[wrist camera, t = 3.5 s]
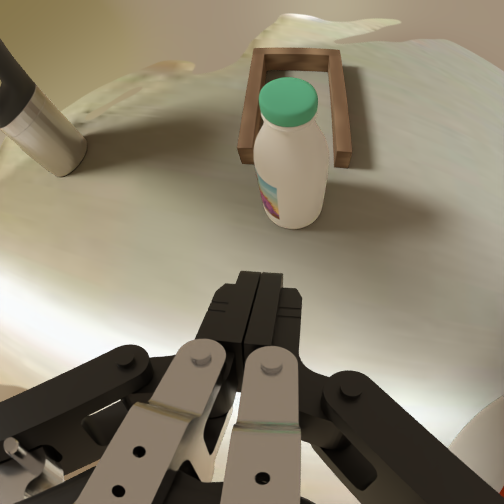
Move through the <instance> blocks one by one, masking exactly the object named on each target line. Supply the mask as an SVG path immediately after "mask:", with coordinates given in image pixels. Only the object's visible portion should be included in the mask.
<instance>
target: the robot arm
mask: <svg viewBox="0 0 504 504" xmlns="http://www.w3.org/2000/svg"><path fill="white" fill-rule="evenodd" d="M0 80H1V82H2V83H1V86H0V130H1V131H2V132H3V133H4V134H6V135H7V136H8V137H9V138H10V139H12V140H13V141H14V142H15V143H16V144H17V145H19V146H20V148H21V149H22V150H23V151H24V152H25V153H27V154H28V155H29V156H30V157H31V158H33V159H34V160H35V161H36V162H37V163H39V164H40V165H41V166H42V167H44V168H45V169H46V170H47V171H49V172H51V173H52V174H54V175H55V176H58V177H61V176H65V175H67V174H69V173H70V172H72V171H73V170H74V169H75V168H76V167H77V166H78V165H79V163H80V162H81V161H82V159H83V157H84V155H85V153H86V150H87V141H86V139H85V138H84V137H83V136H82V135H81V134H80V133H79V132H78V130H77V129H76V128H75V127H74V126H73V125H72V124H71V123H70V122H69V121H68V119H67V118H66V117H65V116H64V115H63V114H62V113H61V112H60V111H59V110H58V109H57V107H56V106H55V105H54V104H53V103H52V102H51V101H50V100H49V98H48V97H47V96H46V95H45V94H44V93H43V92H42V91H41V90H40V88H39V87H38V86H37V85H36V84H35V83H34V82H33V81H32V79H31V78H30V77H29V76H28V75H27V74H26V72H25V71H24V70H23V69H22V67H21V66H20V65H19V64H18V63H17V61H16V60H15V59H14V57H13V56H12V55H11V53H10V52H9V51H8V49H7V48H6V46H5V45H4V43H3V42H2V40H1V39H0ZM301 309H302V297H301V295H300V293H299V292H298V290H297V289H296V288H283V274H282V273H267V272H262V273H261V272H251V271H240V273H239V276H238V279H237V281H236V284H226V283H225V284H224V285H223V286H222V287H220V288H219V289H218V290H217V291H216V292H215V294H214V297H213V299H212V302H211V303H210V306H209V308H208V311H207V312H206V315H205V317H204V319H203V322H202V324H201V326H200V328H199V331H198V333H197V335H196V338H195V340H192V341H189V342H187V343H186V344H184V345H183V346H182V347H181V348H180V349H179V350H178V352H177V354H176V355H172V356H164V357H151V358H149V356H148V353H147V352H146V350H145V349H143V348H142V347H140V346H137V345H123V346H120V347H117V348H115V349H113V350H111V351H109V352H107V353H105V354H103V355H101V356H99V357H97V358H95V359H92V360H90V361H88V362H86V363H84V364H82V365H80V366H78V367H76V368H74V369H72V370H69V371H67V372H65V373H63V374H61V375H59V376H57V377H55V378H52V379H50V380H48V381H46V382H44V383H42V384H40V385H37V386H35V387H33V388H31V389H29V390H27V391H24V392H22V393H20V394H18V395H16V396H13V397H11V398H9V399H7V400H5V401H2V402H0V504H315V503H313V502H312V501H310V500H308V499H306V498H303V497H301V496H300V482H301V440H302V441H305V442H308V443H310V444H311V446H312V448H313V449H314V451H315V452H316V453H317V454H318V455H319V456H320V458H321V459H322V460H323V461H324V462H325V463H326V465H327V466H328V467H329V468H330V469H331V470H332V472H333V473H334V474H335V475H336V476H337V477H338V478H339V480H340V481H341V482H342V483H343V484H344V485H345V486H346V487H347V488H348V490H349V491H350V492H351V493H352V494H353V495H354V496H355V497H356V498H357V499H358V500H359V502H360V503H361V504H504V497H503V496H502V495H500V494H499V493H498V492H497V491H496V490H495V489H493V488H492V487H491V486H490V485H489V484H488V483H487V482H485V481H484V480H483V479H482V478H481V477H480V476H478V475H477V474H476V473H475V472H474V471H473V470H472V469H470V468H469V467H468V466H467V465H466V464H465V463H464V462H463V461H461V460H460V459H459V458H458V457H457V456H456V455H455V454H453V453H452V452H451V451H450V450H449V449H448V448H447V447H446V446H444V445H443V444H442V443H441V442H440V441H439V440H438V439H437V438H435V437H434V436H433V435H432V434H431V433H430V432H429V431H428V430H426V429H425V428H424V427H423V426H422V425H421V424H420V423H419V422H418V421H416V420H415V419H414V418H413V417H412V416H411V415H410V414H409V413H408V412H406V411H405V410H404V409H403V408H402V407H401V406H400V405H399V404H398V403H396V402H395V401H394V400H393V399H392V398H391V397H390V396H389V395H388V394H387V393H385V392H384V391H383V390H382V389H381V388H380V387H379V386H378V385H377V384H376V383H374V382H373V381H372V380H371V379H370V378H369V377H368V376H366V375H364V374H362V373H360V372H356V371H341V372H337V373H335V374H333V375H332V376H330V377H327V376H324V375H321V374H318V373H315V372H313V371H311V370H310V369H308V368H307V367H306V366H305V365H304V364H303V363H302V361H301V360H300V357H299V339H300V325H301ZM236 392H241V397H240V404H239V411H238V418H237V422H236V424H234V426H233V429H232V433H231V439H230V446H229V452H228V458H227V464H226V471H225V477H224V482H211V481H212V478H213V474H214V464H215V459H216V456H217V453H218V450H219V448H220V445H221V442H222V440H223V437H224V434H225V431H226V429H227V426H228V423H229V420H230V418H231V415H232V411H233V402H234V399H235V395H236ZM120 399H121V401H119V402H117V403H115V404H113V405H111V406H109V407H107V408H105V409H103V410H101V411H99V412H97V413H95V414H93V415H90V414H92V413H94V412H96V411H98V410H100V409H102V408H104V407H106V406H108V405H110V404H112V403H114V402H116V401H118V400H120ZM88 415H90V416H88ZM99 459H100V461H99V463H98V464H97V466H95V467H92V468H90V469H88V470H86V471H84V472H83V473H80V474H78V475H77V476H74V477H73V478H70V479H69V480H66V481H64V479H63V476H64V475H67V474H69V473H71V472H73V471H75V470H77V469H80V468H82V467H84V466H86V465H88V464H91V463H92V462H95V461H97V460H99Z"/></svg>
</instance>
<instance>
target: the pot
mask: <svg viewBox="0 0 504 504" xmlns="http://www.w3.org/2000/svg"><path fill="white" fill-rule="evenodd" d="M448 449H449V450H450V451H451V452H452V453H453V454H455V455H456V456H457V457H458V458H459V459H460V460H461V461H463V462H464V463H465V464H466V465H467V466H468V467H469V468H470V469H472V470H473V471H474V472H475V473H476V474H477V475H478V476H480V477H481V478H482V479H483V480H484V481H485V482H487V483H488V484H489V485H490V486H491V487H492V488H493V489H495V490H496V491H497V492H498V493H499V494H500V495H502V496H503V497H504V396H502V397H501V398H499V399H497V400H496V401H494V402H493V403H491V404H490V405H488V406H487V407H486V408H484V409H483V410H482V411H481V412H479V413H478V414H477V415H476V416H475V417H474V418H473V419H472V420H471V421H470V422H469V423H468V424H467V425H466V426H465V427H464V428H463V429H462V430H461V432H460V433H459V434H458V435H457V436H456V438H455V439H454V440H453V442H452V443H451V445H450V446H449V448H448Z"/></svg>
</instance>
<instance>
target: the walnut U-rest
mask: <svg viewBox="0 0 504 504" xmlns="http://www.w3.org/2000/svg"><path fill="white" fill-rule="evenodd" d="M267 70H297V71H322V72H328V76H329V87H330V99H331V113H332V130H333V151H334V167H339V168H348V166H349V163H350V159H351V155H352V144H351V133H350V123H349V113H348V105H347V96H346V89H345V81H344V74H343V68H342V61H341V55H340V50H333V49H316V48H254V50H253V56H252V61H251V67H250V73H249V78H248V84H247V90H246V96H245V102H244V108H243V114H242V120H241V126H240V133H239V139H238V146H237V149H238V152H239V156H240V159H241V162H242V164H254V144H255V140H256V137H257V135H258V133H259V131H260V124H261V110H260V106H259V94H260V91H261V89H262V88H263V87H264V86H265V80H266V72H267Z"/></svg>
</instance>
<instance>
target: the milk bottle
mask: <svg viewBox="0 0 504 504" xmlns="http://www.w3.org/2000/svg"><path fill="white" fill-rule="evenodd" d="M259 106H260V110H261V116H262V119H263V121H264V124H263V126H262V128H261V129H260V131H259V133H258V135H257V137H256V140H255V144H254V165H255V171H256V175H257V180H258V184H259V189H260V193H261V197H262V201H263V205H264V209H265V212H266V214H267V215H268V217H269V218H270V219H271V220H272V221H273V222H274V223H275V224H277V225H278V226H281V227H283V228H287V229H299V228H303V227H306V226H308V225H310V224H311V223H313V222H314V221H315V220H316V219H317V217H318V216H319V214H320V212H321V209H322V206H323V201H324V195H325V189H326V183H327V176H328V168H329V149H328V144H327V141H326V138H325V136H324V134H323V132H322V131H321V129H320V128H319V126H318V125H317V123H316V121H315V119H316V117H317V107H318V96H317V93H316V91H315V89H314V88H313V86H312V85H311V84H309V83H308V82H306V81H304V80H301V79H298V78H292V77H284V78H278V79H275V80H272V81H270V82H269V83H267V84H266V85H265V86H264V87H263V88H262V89H261V91H260V94H259Z"/></svg>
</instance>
